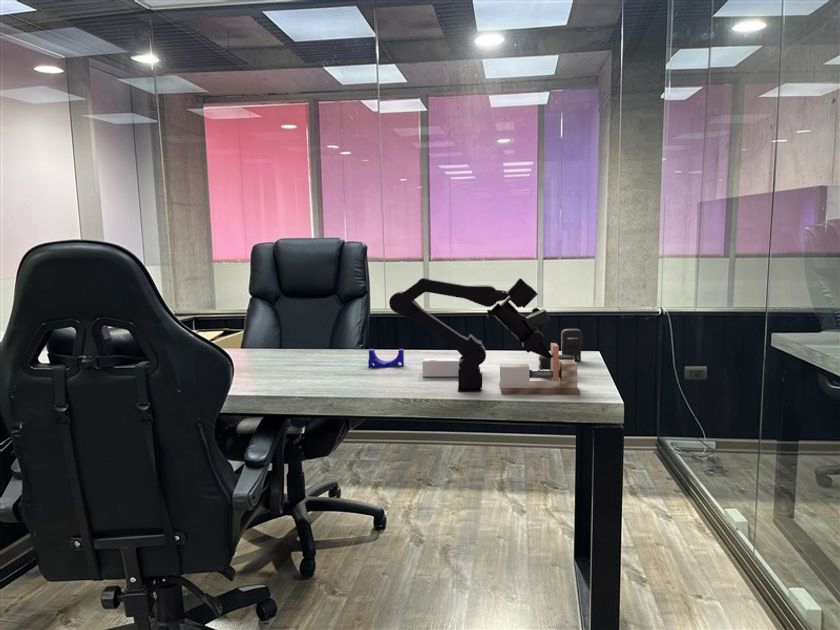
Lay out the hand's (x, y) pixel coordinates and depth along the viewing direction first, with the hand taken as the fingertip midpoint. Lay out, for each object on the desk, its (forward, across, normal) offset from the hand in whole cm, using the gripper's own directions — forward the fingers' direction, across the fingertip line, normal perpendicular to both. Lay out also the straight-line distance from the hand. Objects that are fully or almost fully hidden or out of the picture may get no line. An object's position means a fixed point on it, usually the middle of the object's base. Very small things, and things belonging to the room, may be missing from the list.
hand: (551, 357), depth 161 cm
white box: (-14, +20, +28) cm, 37 cm away
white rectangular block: (-1, 0, +14) cm, 14 cm away
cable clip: (-30, +32, +44) cm, 62 cm away
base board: (+4, 0, +9) cm, 10 cm away
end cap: (+9, +17, +4) cm, 20 cm away
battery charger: (+16, +40, -2) cm, 43 cm away
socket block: (+10, 0, +3) cm, 10 cm away
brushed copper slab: (+4, 0, +5) cm, 6 cm away
